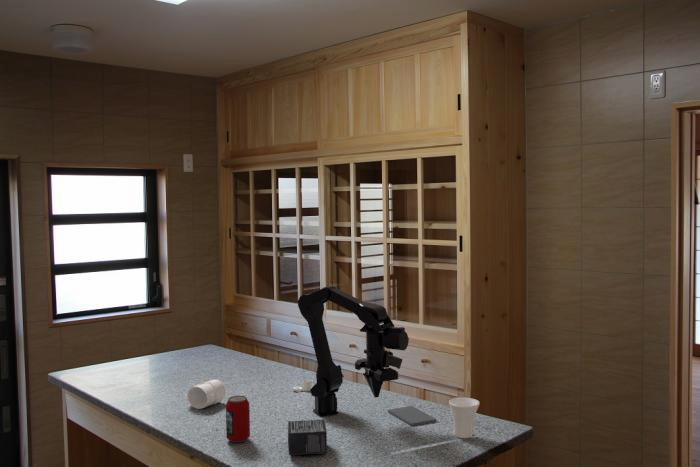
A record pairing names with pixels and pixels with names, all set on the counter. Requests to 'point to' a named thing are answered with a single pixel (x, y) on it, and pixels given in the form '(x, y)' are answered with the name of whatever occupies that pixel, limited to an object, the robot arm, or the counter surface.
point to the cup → (463, 416)
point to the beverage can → (237, 419)
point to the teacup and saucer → (306, 387)
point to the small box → (307, 437)
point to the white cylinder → (206, 394)
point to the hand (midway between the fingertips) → (376, 397)
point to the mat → (411, 415)
